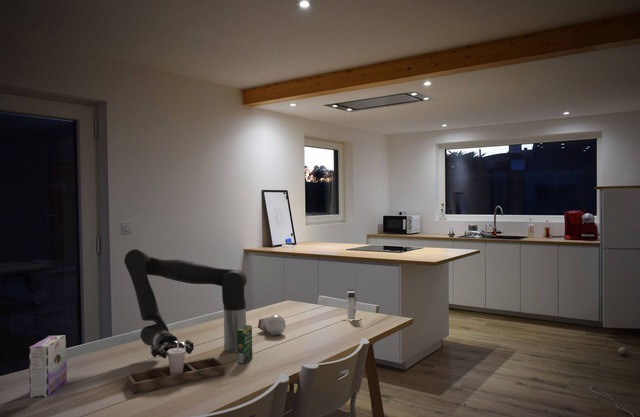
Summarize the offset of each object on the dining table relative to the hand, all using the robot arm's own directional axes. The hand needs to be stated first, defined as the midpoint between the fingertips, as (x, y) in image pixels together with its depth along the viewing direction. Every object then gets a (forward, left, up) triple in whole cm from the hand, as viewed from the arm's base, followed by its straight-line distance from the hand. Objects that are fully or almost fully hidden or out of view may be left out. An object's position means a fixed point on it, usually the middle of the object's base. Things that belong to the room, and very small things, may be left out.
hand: (177, 353), depth 164 cm
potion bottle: (-55, -37, -10) cm, 67 cm away
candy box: (+38, -18, -10) cm, 43 cm away
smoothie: (0, -2, -9) cm, 10 cm away
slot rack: (0, -2, -10) cm, 10 cm away
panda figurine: (-103, -39, -10) cm, 111 cm away
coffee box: (-28, -7, -10) cm, 30 cm away
